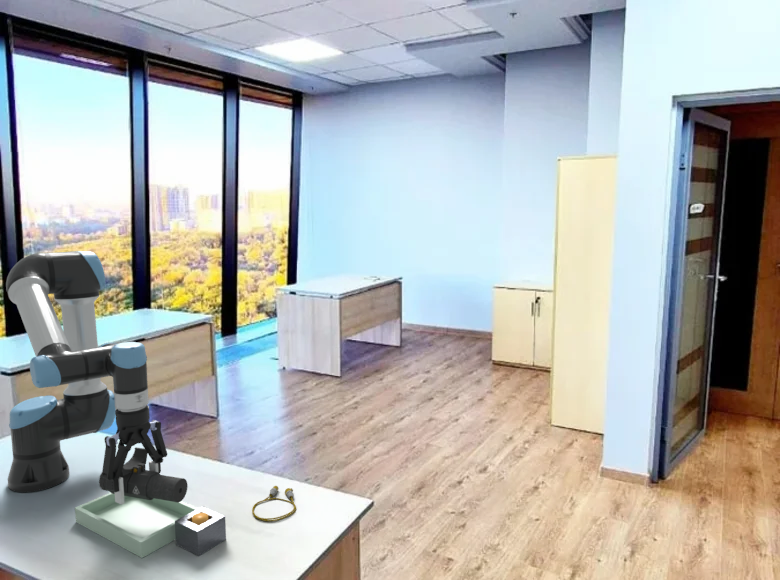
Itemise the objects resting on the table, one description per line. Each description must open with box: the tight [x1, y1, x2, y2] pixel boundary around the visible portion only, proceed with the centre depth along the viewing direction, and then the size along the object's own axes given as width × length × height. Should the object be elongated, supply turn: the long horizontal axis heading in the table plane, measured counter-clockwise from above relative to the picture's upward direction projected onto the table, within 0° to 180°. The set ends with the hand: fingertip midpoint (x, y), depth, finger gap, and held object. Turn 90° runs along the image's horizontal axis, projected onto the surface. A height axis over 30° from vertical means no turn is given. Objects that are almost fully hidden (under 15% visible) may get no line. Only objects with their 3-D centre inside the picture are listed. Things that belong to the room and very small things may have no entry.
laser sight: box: [98, 447, 189, 503], centre depth 146 cm, size 10×22×10 cm, turn 73°
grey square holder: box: [175, 506, 227, 557], centre depth 139 cm, size 8×8×6 cm
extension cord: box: [251, 485, 297, 522], centre depth 156 cm, size 12×16×2 cm
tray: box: [74, 492, 200, 559], centre depth 147 cm, size 27×17×4 cm, turn 57°
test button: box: [192, 513, 208, 526], centre depth 139 cm, size 4×4×5 cm
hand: (137, 494), depth 146 cm, fingers closed on laser sight, 9 cm apart
